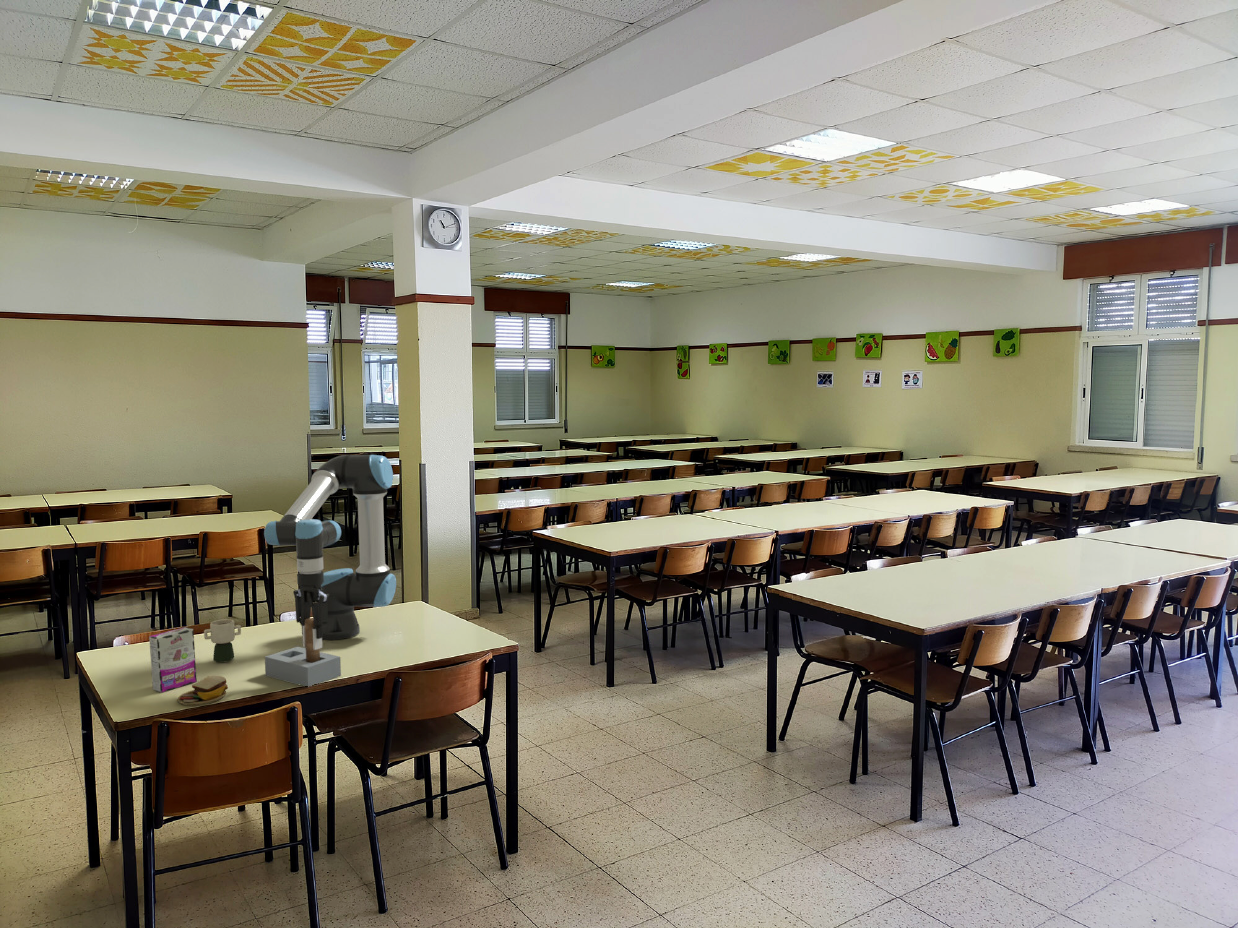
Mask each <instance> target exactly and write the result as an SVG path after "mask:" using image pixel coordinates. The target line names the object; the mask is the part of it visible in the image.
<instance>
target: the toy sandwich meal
mask: <svg viewBox="0 0 1238 928" xmlns="http://www.w3.org/2000/svg"><path fill="white" fill-rule="evenodd" d="M191 687H192V688H193V690H189V691H186V692H183V693H182V694H180V695H179V696H178V697H177V701H178V702H179V703H180V704H182V705H184V706H189V707H190V706H193V707H194V706H204V705H203V704H205V705H209V704H212V702H213V703H216V702H218V701H220V700H222V699H223V698H224V697H225V696H226V695H227V690H228V688H229V686H228V684H227V679H226V678H225V677H224V676H221V675H220V676H219V675H215V674H214V675H207V676H206V677H204V678H203V679H200V680H199V681H197V682H194V683H192V685H191Z"/></svg>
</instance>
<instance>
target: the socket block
mask: <svg viewBox="0 0 1238 928" xmlns="http://www.w3.org/2000/svg"><path fill="white" fill-rule="evenodd" d="M341 667H342V666H341V656H338V655H335V654H329V653H326V652H321V651H320V661H317V662H314V663H309V662H306V647H305V648H304V647H301V646H296V647H292V648H289V649H285V650H282V651H279V652H276V653H275V652H274V653H272V654H269V655H266V656H264V668H265V669H264V671H265V676H266V677H268V678H273V679H277V680H280V681H284V682H286V683H287V682H288V683H291V684H295V685H298V684H300V685H299V686H301V685H304V686H303V687H305V686H308V687H307V688H310V687H309V686H311V687H313V686H312V685H314V684H317V685H319V684H322V683H325V682H328V681H330V680H333V679H336V678H338V676H339V677H342V669H341ZM324 681H325V682H324ZM318 683H319V684H318ZM314 686H315V685H314Z"/></svg>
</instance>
